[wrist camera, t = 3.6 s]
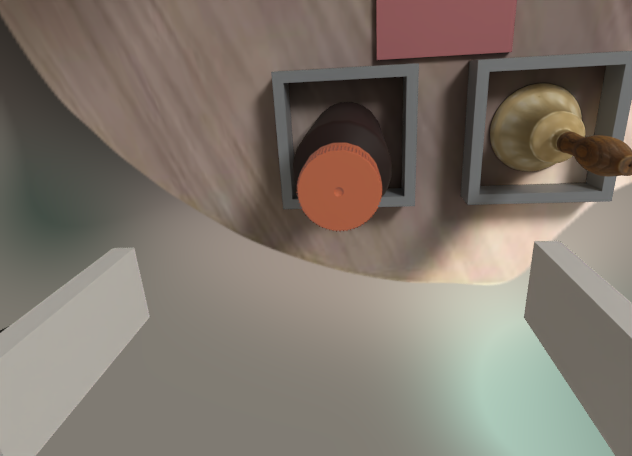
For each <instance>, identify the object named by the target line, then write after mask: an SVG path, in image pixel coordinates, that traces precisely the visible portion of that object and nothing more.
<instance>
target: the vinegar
mask: <svg viewBox="0 0 632 456" xmlns="http://www.w3.org/2000/svg"><path fill="white" fill-rule="evenodd" d="M293 173H294V181H295V184H296V186H297V188H296V189H298V190H297V192H296V193H298V194H297V196H298V199H297V200H299V203H300V206H301V207H302V209H301V210H303V213H304V212H305V213H306V215H307V216H308V218H310V221H311V220H312V221H313V223H314V222H315V223H316V225H317V224H318V225H319V227H320V226H321V227H322V228H323V227H324V228H326V229H329V230H332V231H333V230H336V232H337V230H339V231H341V230H343V232H344V230H347V231H348V230H349V229H350V230H351V229H352V228H353V229H355V227H357V228H358V226H361V224H364V222H367V220H370V217H372V215H374V212H376V209H378V205H380V204H379V202H381V200H380V199H381V198H382V197H383V196H384V194H385V193H386V191H387V188H388V186H389V183H390V180H391V177H392V161H391V157H390V154H389V151H388V148H387V145H386V142H385V140H384V137H383V134H382V131H381V129H380V126H379V123H378V121H377V119H376V118H375V116H374V115H373V114H372V112H371V111H369V110H368V109H367V108H365V107H364V106H362V105H359V104H356V103H353V102H344V103H338V104H336V105H333V106H330V107H329V108H328V109H326V110H325V111H324V112H323V113H322V114H321V115H320V116H319V118H318V119H317V120H316V122H315V123H314V125H313V126H312V127H311V129H310V130H309V132H308V133H307V134H306V136H305V137H304V139H303V140H302V142H301V143H300V145H299V146H298V148H297V150H296V154H295V158H294V162H293ZM306 215H305V216H306Z"/></svg>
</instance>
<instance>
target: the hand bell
mask: <svg viewBox="0 0 632 456" xmlns="http://www.w3.org/2000/svg"><path fill="white" fill-rule="evenodd" d="M490 141H491V145H492V149H493V151H494V153H495V154H496V156H497V157H498V158H499V159H500V160H501V161H502V162H503V163H504V164H505V165H507V166H508V167H510V168H513V169H515V170H519V171H538V170H542V169H545V168H548V167H550V166H552V165H554V164H556V163H560V162H563V161H566V160H568V159H569V158H571V157H572V156H575V158H576V160H577V162H578V163H579V164H580V165H581V166H582V167H583V168H584V169H586V170H588V171H589V172H592V173H594V174H596V175H600V176H607V177H609V176H620V175H624V176H630V175H632V150H631V148H630V147H629V146H628V145H627V144H625V143H624V142H623V141H621V140H619V139H616V138H613V137H610V136H603V135H594V136H589V137H585V127H584V124H583V122H582V115H581V110H580V107H579V105H578V102H577V101H576V99H575V98H574V96H573V95H572V94H571V93H569V92H568V91H567V90H566V89H564V88H562V87H560V86H557V85H553V84H547V83H540V84H533V85H529V86H526V87H523V88H521V89H519V90H517V91H516V92H514V93H513V94H511V95H510V96H509V97H508V98H507V99H506V100H505V101H504V102H503V103H502V104H501V105H500V107H499V108H498V109H497V111H496V113H495V115H494V117H493V120H492V123H491V128H490Z"/></svg>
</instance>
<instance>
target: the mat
mask: <svg viewBox="0 0 632 456" xmlns="http://www.w3.org/2000/svg"><path fill="white" fill-rule="evenodd" d="M516 4H517V0H376V39H377V60H385V59H402V58H419V57H436V56H452V55H469V54H486V53H503V52H512V44H513V34H514V24H515V14H516Z"/></svg>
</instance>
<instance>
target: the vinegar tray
mask: <svg viewBox="0 0 632 456" xmlns="http://www.w3.org/2000/svg"><path fill="white" fill-rule="evenodd" d="M418 74H419V63H415V64H398V65H380V66H363V67H346V68H329V69H312V70H295V71H278V72H272V84H273V96H274V107H275V119H276V130H277V142H278V154H279V165H280V177H281V188H282V200H283V209H302V207H301V206H300V203H299V200H297V199H298V196H297V194H298V193H296V192H297V191H296V184H295V181H294V173H293V162H294V152H293V139H292V125H291V112H290V98H289V84H288V83H295V82H313V81H331V80H349V79H367V78H385V77H403V130H402V188H390V189H387V191H386V193H385V194H384V196H383V197H382V198H381V199H380V200H381V202H379V204H380V205H378V207H397V206H415V181H416V145H417V109H418Z"/></svg>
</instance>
